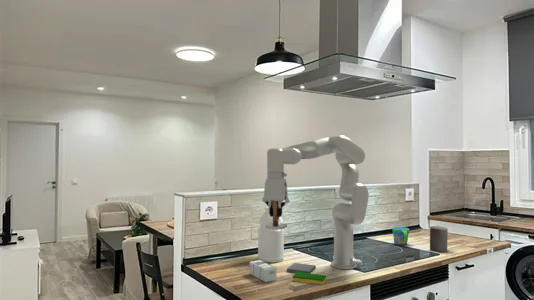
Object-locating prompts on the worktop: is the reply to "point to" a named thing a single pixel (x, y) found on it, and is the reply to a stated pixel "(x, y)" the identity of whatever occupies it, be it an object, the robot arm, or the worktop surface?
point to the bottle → (270, 240)
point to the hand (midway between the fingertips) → (275, 216)
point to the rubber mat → (301, 268)
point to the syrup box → (263, 270)
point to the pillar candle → (438, 238)
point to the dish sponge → (309, 278)
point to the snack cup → (400, 235)
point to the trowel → (275, 219)
